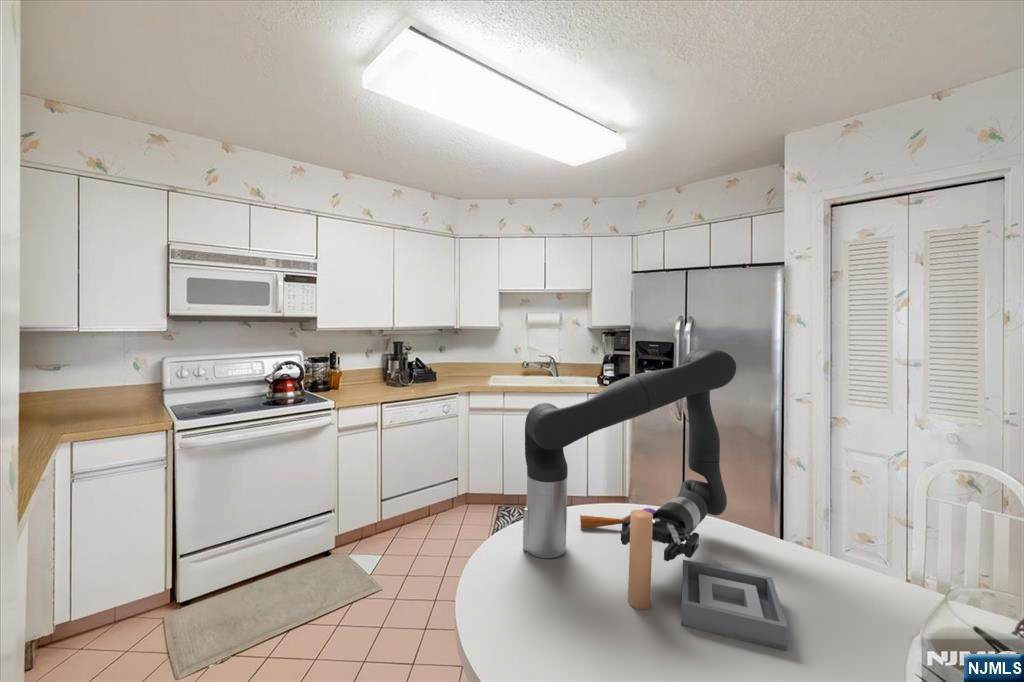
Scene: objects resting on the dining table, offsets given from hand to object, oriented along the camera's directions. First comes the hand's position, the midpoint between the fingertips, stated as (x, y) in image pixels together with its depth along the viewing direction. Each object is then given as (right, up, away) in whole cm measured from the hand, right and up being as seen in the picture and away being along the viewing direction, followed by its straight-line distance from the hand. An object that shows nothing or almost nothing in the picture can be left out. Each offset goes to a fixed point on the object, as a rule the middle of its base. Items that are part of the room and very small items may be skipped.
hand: (643, 547), depth 85 cm
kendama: (+2, -9, +28) cm, 30 cm away
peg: (-1, -10, 0) cm, 10 cm away
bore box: (+15, -10, -2) cm, 18 cm away
